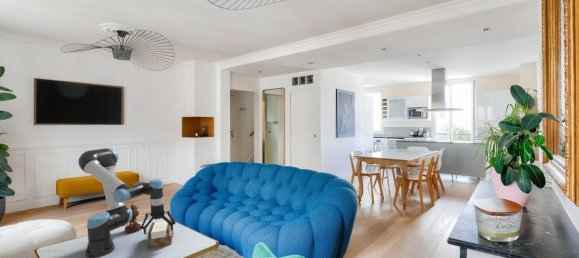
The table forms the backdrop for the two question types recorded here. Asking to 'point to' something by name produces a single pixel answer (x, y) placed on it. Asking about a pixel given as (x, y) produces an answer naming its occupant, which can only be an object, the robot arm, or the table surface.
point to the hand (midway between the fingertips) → (159, 237)
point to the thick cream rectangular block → (159, 229)
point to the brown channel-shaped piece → (159, 241)
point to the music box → (133, 221)
